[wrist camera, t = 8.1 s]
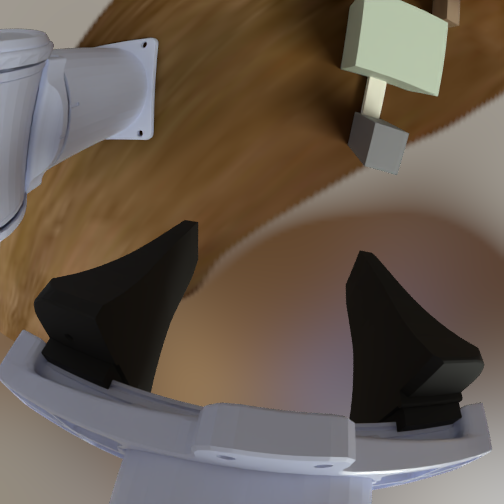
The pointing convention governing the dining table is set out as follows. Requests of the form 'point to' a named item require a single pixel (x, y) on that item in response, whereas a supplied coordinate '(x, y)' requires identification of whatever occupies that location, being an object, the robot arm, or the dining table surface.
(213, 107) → the dining table surface
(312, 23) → the dining table surface
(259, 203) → the dining table surface
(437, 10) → the frame
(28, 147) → the robot arm
